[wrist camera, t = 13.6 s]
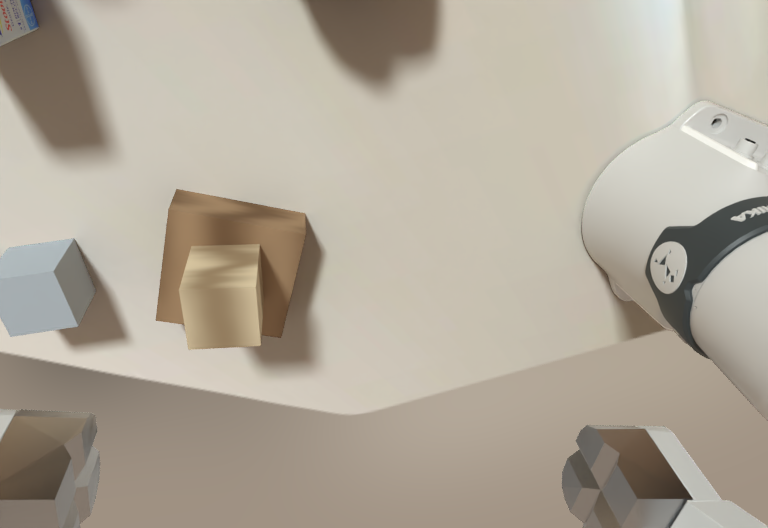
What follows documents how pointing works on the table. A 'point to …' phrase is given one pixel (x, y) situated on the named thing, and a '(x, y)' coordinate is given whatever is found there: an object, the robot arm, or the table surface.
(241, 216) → the walnut block
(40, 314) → the slate cube
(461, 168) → the table surface
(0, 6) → the medicine box
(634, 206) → the robot arm
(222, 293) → the oak block
